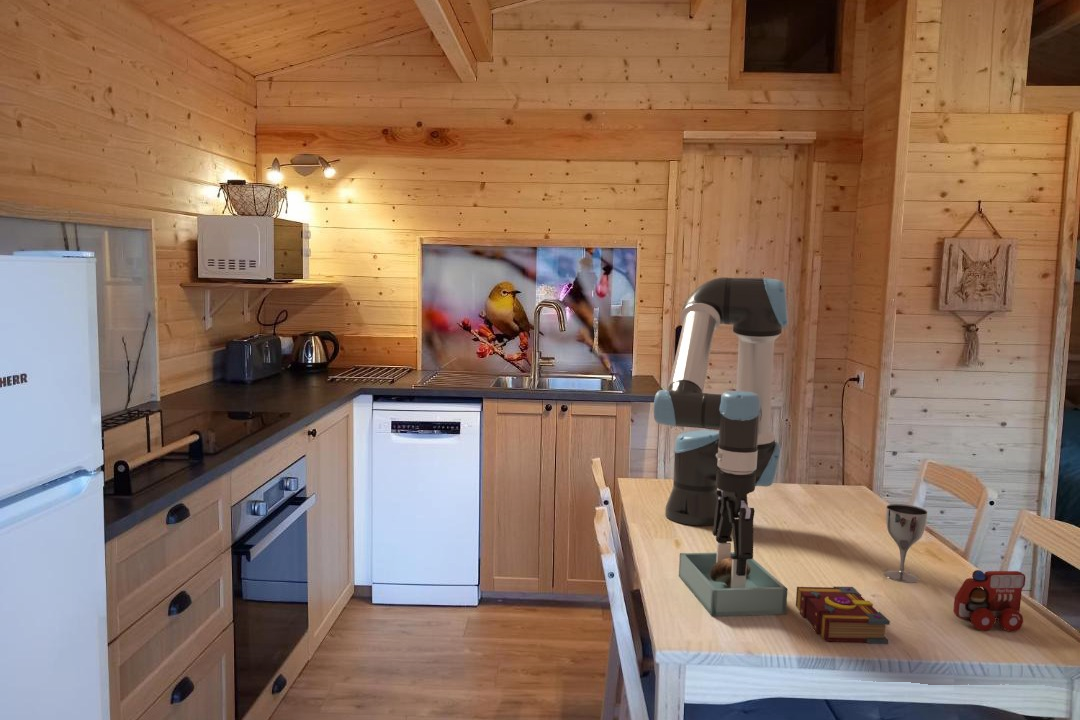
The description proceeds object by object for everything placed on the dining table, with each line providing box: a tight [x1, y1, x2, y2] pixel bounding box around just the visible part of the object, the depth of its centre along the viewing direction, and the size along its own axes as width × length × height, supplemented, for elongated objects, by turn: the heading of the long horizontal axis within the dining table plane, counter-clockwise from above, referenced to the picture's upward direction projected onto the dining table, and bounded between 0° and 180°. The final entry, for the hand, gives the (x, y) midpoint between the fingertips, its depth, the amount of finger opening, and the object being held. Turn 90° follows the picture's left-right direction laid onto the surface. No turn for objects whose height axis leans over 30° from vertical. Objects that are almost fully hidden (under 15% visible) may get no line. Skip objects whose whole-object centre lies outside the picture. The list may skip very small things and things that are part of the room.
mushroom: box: [710, 558, 751, 588], centre depth 150 cm, size 8×8×6 cm
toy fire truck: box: [953, 569, 1026, 632], centre depth 140 cm, size 7×12×10 cm, turn 91°
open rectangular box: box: [678, 551, 788, 617], centre depth 150 cm, size 20×15×5 cm
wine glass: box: [883, 503, 928, 584], centre depth 162 cm, size 8×8×15 cm
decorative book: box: [795, 586, 891, 645], centre depth 138 cm, size 11×16×5 cm
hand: (729, 581), depth 150 cm, fingers open, 7 cm apart
